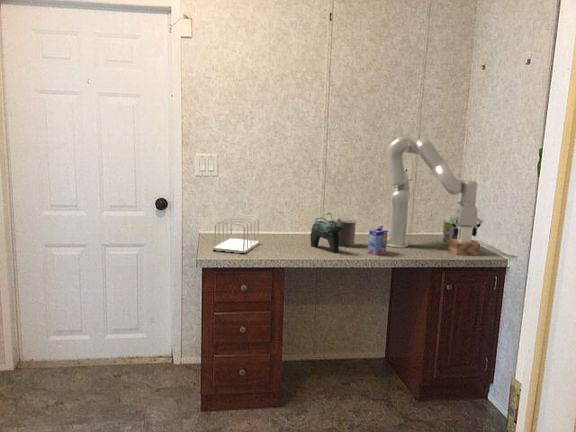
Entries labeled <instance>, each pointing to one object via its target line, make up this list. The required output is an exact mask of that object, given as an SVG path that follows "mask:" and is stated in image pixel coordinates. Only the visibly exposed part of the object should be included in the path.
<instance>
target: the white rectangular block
mask: <svg viewBox="0 0 576 432" xmlns="http://www.w3.org/2000/svg"><path fill="white" fill-rule="evenodd" d="M473 228H474V227H473V226H461V225H460V226H459V227H458V238H457V240H458V241H460V242H465V243H471V240H473V239H472V237H473V235H472V230H473Z"/></svg>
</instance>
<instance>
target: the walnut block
mask: <svg viewBox="0 0 576 432" xmlns="http://www.w3.org/2000/svg"><path fill="white" fill-rule="evenodd" d="M480 248H481V244H480V243H479V242H477V241H475V240H473V239H471V243H465V242H460V241H458V240H457V239H449V242H448V251H450V252H452V253H453V254H455V255H456V256H480Z"/></svg>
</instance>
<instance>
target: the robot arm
mask: <svg viewBox="0 0 576 432" xmlns="http://www.w3.org/2000/svg"><path fill="white" fill-rule="evenodd" d="M405 153H407V154H414V155H415V154H416V155H419V157H420V158H421V159H422V160H423V162H424V163H425V164H426V165H427V167H428V168H429V170H430V171H431V172H432V173H433V175H435V177H436V179H437V180H438V181H439V183H440V184H441V185H442V187H443V188H444V189H445V191H447V193H448V194H450V195H452V196H453V195H458V194H459V193H460V194H461V195H460V200H459V201H458V202H457V205H459V206H458V208H457V211H456V216H455V217H452V219H451V218H450V219H449V221H450V222H451V225H452V226H453V227H454V235H455V236H458V227H459V226H460V225H461V226H473V228H472V237H477V234H478V233H477V231H478V229H479V228H480V227H481V226H482V223H483V222H484V221H483V220H482V219H480V218H478V207H477V206H476V202H477V193H478V192H477V190H478V182H477V181H475V180H469V179H468V180H463V179H458V178H456V177H455V175H454V174H453V173H452V171H451V169H450V168H449V167H448V164H447V162H446V161H445V158H443V156H442V155H441V154H440V153H439V151H438V150H437V148H435V146H434V145H433V142H432V141H430V140H429V139H422V138H416V137H408V136H400V137H397V138H395V139H394V140H393V141H391V143H390V144H389V146H388V148H387V150H386V161H387V162H386V163H387V172H388V173H387V174H388V181H389V184H391V188H392V190H391V191H392V193H391V195H390V197H389V198H390V200H389V224H388V234H387V243H386V247H389V248H397V249H398V248H399V249H402V248H408V247H409V243H407V242H406V241H407V240H406V238H407V225H408V212H409V207H408V206H409V201H410V198H411V190H410V181H409V174H408V172H406V170H405V166H404V158H403V155H404V154H405ZM454 221H456V224H454Z"/></svg>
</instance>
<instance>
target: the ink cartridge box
mask: <svg viewBox="0 0 576 432" xmlns="http://www.w3.org/2000/svg"><path fill="white" fill-rule="evenodd" d="M383 227H384V225H381V226H378V228H375V229H371V230H369V232H368V235H369V236H368V244H367V253H368V254H369V255H373V254H374V256H376V255H381V254H385V253H386V252H387V251H386V250H387V245H386V243H387V236H388V234H389V229H385V228H383Z"/></svg>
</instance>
